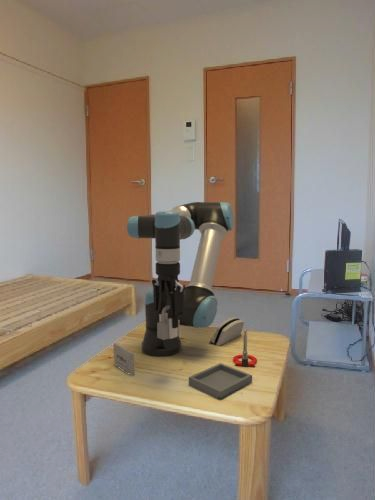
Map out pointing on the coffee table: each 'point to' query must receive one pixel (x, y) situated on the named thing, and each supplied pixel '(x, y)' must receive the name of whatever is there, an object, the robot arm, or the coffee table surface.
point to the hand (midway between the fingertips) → (168, 335)
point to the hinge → (227, 331)
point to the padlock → (165, 326)
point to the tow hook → (245, 355)
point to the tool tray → (220, 380)
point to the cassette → (124, 358)
